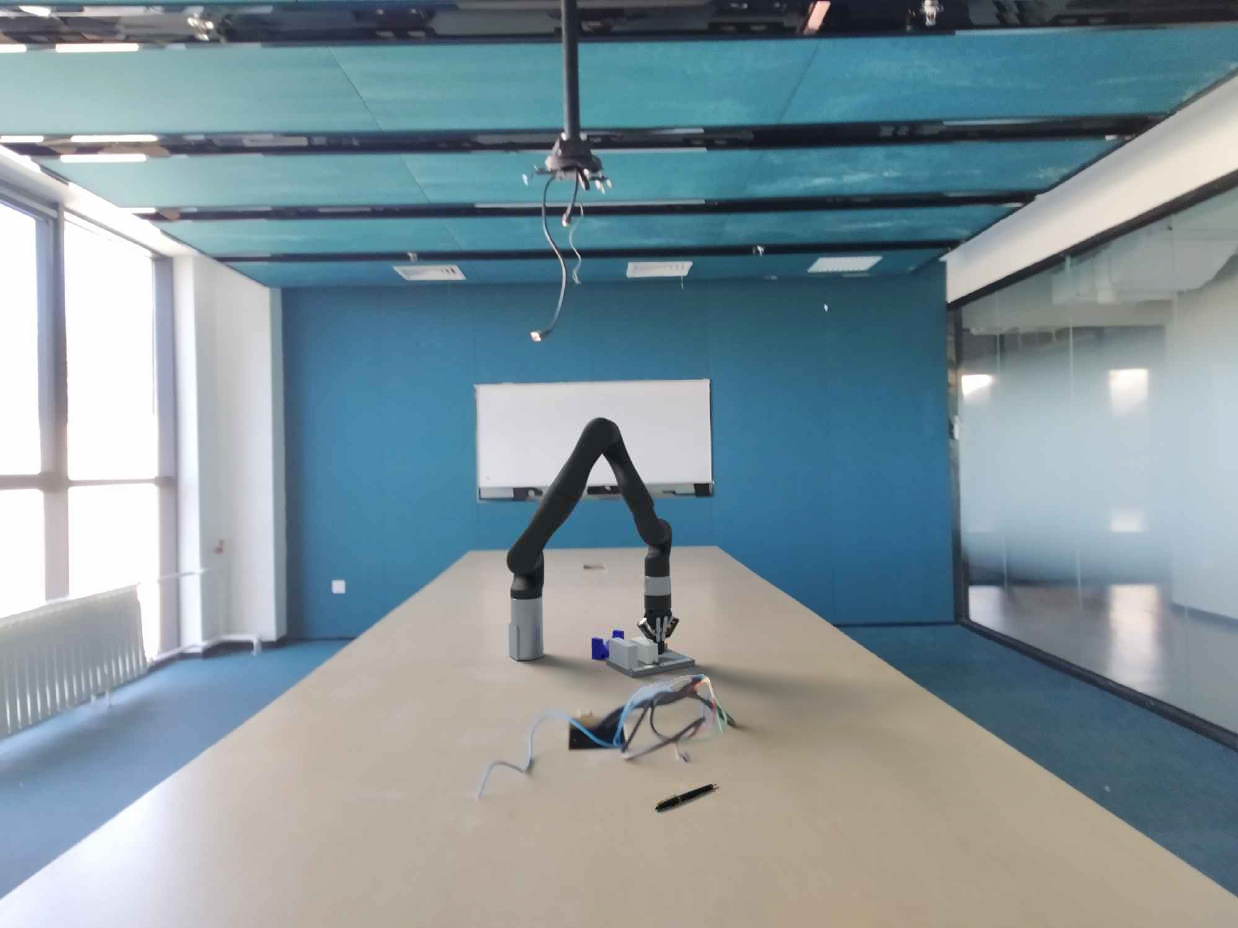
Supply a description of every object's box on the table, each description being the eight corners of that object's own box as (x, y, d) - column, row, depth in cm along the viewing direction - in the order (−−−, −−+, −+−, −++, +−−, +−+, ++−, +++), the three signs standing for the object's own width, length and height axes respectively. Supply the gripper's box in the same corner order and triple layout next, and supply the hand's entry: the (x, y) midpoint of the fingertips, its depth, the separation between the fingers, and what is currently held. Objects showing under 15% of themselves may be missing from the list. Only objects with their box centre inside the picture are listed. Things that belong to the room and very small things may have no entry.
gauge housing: (631, 677, 183) (631, 648, 183) (606, 664, 195) (605, 637, 195) (695, 665, 193) (694, 637, 193) (666, 653, 205) (666, 627, 205)
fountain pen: (716, 785, 123) (716, 776, 123) (721, 787, 122) (721, 779, 122) (652, 811, 114) (652, 802, 114) (657, 814, 113) (656, 805, 113)
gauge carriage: (652, 666, 186) (651, 647, 186) (630, 656, 196) (629, 638, 196) (665, 664, 188) (664, 645, 188) (642, 654, 198) (642, 636, 198)
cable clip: (611, 648, 212) (611, 628, 212) (624, 651, 209) (623, 630, 209) (587, 658, 202) (587, 637, 202) (600, 661, 199) (600, 639, 199)
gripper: (669, 586, 202) (671, 647, 202) (630, 592, 196) (631, 654, 196) (685, 590, 196) (686, 653, 196) (644, 596, 189) (645, 661, 189)
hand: (658, 653), depth 196 cm, fingers closed
